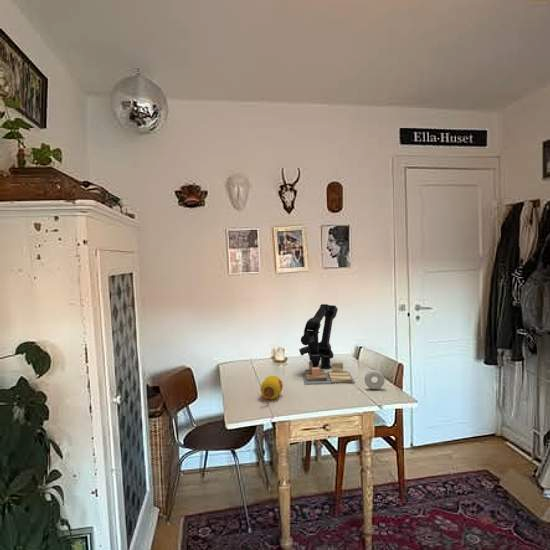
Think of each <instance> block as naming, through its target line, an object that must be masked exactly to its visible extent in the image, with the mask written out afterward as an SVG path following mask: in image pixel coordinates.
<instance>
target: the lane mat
mask: <svg viewBox="0 0 550 550" xmlns="http://www.w3.org/2000/svg"><path fill="white" fill-rule="evenodd" d="M347 372H348V373H349V375H350V377H351V379H352V382H331V380H330V377H329V375H328V372H325V374H326V377H327V380H316V381H307V379H306V375H305V372H304V373H302V377H303V383H304V384H303V385H306V386H307V385H313V384H314V385H337V383H348V384H356V382H355V380H354V378H353V376H352V375H351V373H350V372H349V371H347ZM335 383H336V384H335ZM314 385H313V386H314Z"/></svg>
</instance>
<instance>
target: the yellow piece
mask: <svg viewBox="0 0 550 550" xmlns="http://www.w3.org/2000/svg"><path fill="white" fill-rule="evenodd" d="M283 387H284V385H283V381H282V380H281V378H280V377H279V376H276V375H269V376H267V377H265V379H264V380H263V382H262V383H261V385H260V392H261V395H262V399H267V400H275V399H277V398H278V397H279V396H280V394H281V392H282V391H283Z"/></svg>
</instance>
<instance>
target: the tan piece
mask: <svg viewBox="0 0 550 550" xmlns="http://www.w3.org/2000/svg"><path fill="white" fill-rule="evenodd" d="M331 367H332V368H331V370H328V371H327V373H328V375H329V377H330V380H331V382H352V379H351V377H350V375H351V374H350V375H349V373H350V372H349V371H348V370H344V363H343V362H339V361H338V362H331ZM348 372H349V373H348Z"/></svg>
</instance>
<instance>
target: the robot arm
mask: <svg viewBox="0 0 550 550" xmlns="http://www.w3.org/2000/svg"><path fill="white" fill-rule="evenodd" d="M337 314H338V307H337V306H336V305H333V304H332V305H331V304H327V303H322V304H320V306H319V308H318V310H317V311H316V312H315V314H314V316H313V317H311V318H309V319H308V320H307V322H306V323H305V326H304V330H303V335H302V336H301V337H300V343H301V344H302V345H303V347H301V348H299V349H298V350H299V353H300V356H304V355H306V354H308V357H309V361H311V362H312V363H313V367H318V364H319V365H320V369H332V364H331V359H333V358H334V352H333V351H332V345H331V343H330V339H331V338H330V337H331V334H332V328H333V327H332V326H333V320H334V319H335V318H336V317H337ZM323 319H324V323H323V329H322V334H321V335H322V336H321V340H320V342H319V334H320V331H319V330H320V328H321V322H322V320H323Z"/></svg>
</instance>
